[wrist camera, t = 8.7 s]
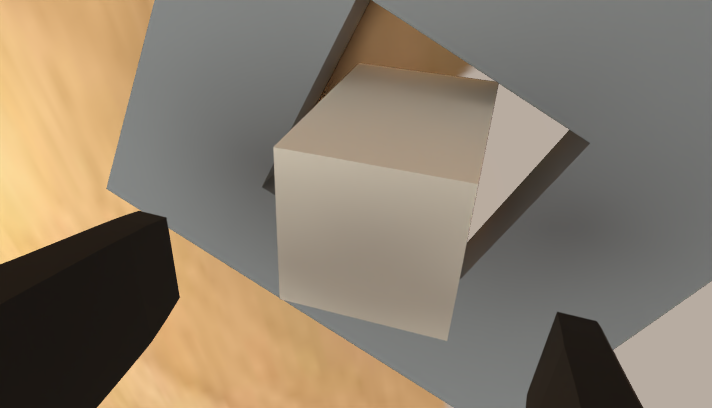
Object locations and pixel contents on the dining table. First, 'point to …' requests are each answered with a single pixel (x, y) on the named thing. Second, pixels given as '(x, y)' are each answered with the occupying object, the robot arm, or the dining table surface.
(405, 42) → the dining table surface
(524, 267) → the board
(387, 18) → the dining table surface
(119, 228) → the robot arm
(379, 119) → the peg
